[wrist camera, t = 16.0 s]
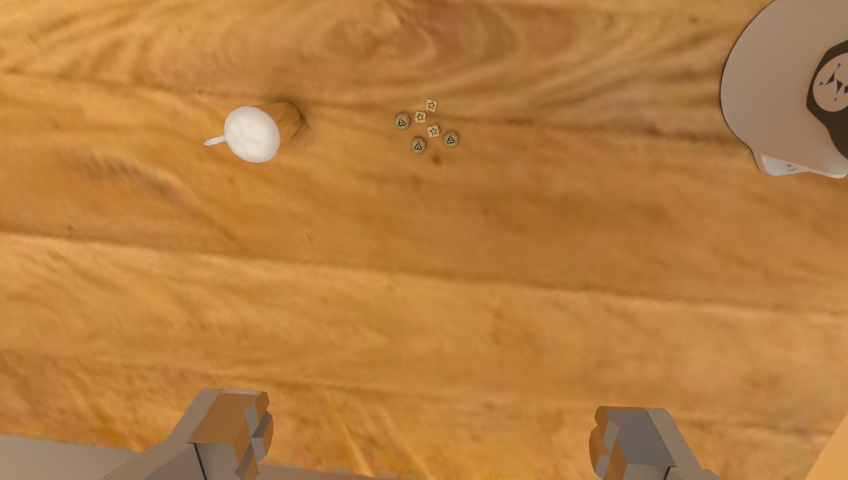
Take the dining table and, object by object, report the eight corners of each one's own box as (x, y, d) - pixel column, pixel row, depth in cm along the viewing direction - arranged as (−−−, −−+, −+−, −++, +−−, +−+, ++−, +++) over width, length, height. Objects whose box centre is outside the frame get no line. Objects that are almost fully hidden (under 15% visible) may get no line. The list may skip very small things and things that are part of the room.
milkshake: (249, 96, 42) (195, 113, 33) (303, 92, 41) (263, 107, 32) (261, 143, 44) (212, 171, 35) (312, 139, 43) (277, 166, 34)
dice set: (460, 140, 43) (460, 144, 42) (414, 160, 44) (412, 165, 43) (440, 91, 41) (440, 94, 40) (392, 113, 43) (390, 116, 41)
